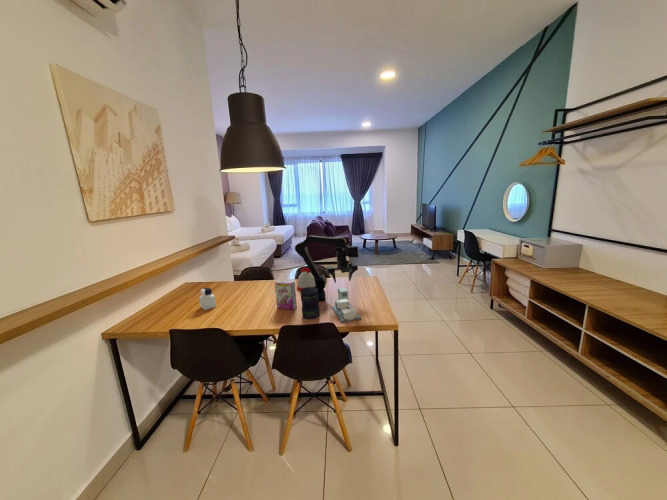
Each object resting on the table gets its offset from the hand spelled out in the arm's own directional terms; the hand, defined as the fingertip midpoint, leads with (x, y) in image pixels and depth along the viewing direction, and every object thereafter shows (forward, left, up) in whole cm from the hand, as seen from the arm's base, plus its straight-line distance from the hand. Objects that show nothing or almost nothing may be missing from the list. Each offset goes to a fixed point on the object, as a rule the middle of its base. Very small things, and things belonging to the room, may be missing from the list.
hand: (342, 281), depth 166 cm
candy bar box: (-35, +1, -12) cm, 37 cm away
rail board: (-4, -18, -12) cm, 22 cm away
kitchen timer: (-18, +32, -12) cm, 39 cm away
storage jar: (-23, -14, -12) cm, 30 cm away
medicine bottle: (-82, +20, -12) cm, 85 cm away
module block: (0, 0, -12) cm, 12 cm away
